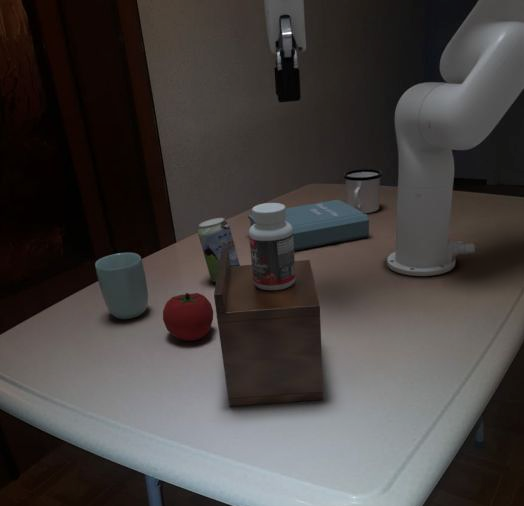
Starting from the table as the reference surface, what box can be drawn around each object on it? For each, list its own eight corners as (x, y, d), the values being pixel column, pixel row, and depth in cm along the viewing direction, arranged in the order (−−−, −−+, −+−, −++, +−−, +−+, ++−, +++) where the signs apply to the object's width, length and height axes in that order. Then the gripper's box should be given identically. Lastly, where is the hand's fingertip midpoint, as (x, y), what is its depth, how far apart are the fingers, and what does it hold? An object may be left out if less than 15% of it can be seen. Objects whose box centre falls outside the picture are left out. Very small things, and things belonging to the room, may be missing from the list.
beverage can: (238, 287, 105) (230, 224, 99) (200, 287, 106) (191, 225, 100) (245, 274, 110) (239, 214, 104) (210, 274, 111) (201, 215, 106)
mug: (348, 204, 147) (348, 169, 143) (384, 204, 144) (385, 168, 139) (337, 217, 138) (336, 180, 133) (375, 218, 134) (375, 180, 130)
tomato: (214, 320, 93) (208, 280, 89) (218, 343, 86) (212, 300, 82) (166, 328, 92) (158, 287, 89) (166, 351, 85) (158, 308, 82)
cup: (113, 328, 94) (100, 272, 89) (103, 312, 100) (89, 259, 95) (157, 315, 96) (147, 261, 92) (144, 300, 103) (134, 249, 98)
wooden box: (313, 342, 84) (308, 243, 76) (323, 399, 70) (319, 286, 63) (233, 348, 84) (221, 250, 76) (229, 406, 71) (213, 294, 63)
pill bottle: (245, 286, 71) (236, 210, 66) (271, 272, 74) (265, 199, 69) (278, 295, 67) (272, 215, 63) (304, 280, 71) (300, 203, 66)
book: (338, 220, 136) (338, 199, 133) (368, 238, 122) (369, 215, 120) (250, 236, 131) (247, 215, 128) (271, 256, 117) (269, 233, 115)
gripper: (313, -53, 67) (318, 101, 75) (303, -37, 82) (308, 90, 90) (251, -47, 67) (263, 106, 76) (252, -32, 82) (262, 95, 91)
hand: (287, 97), depth 83 cm, fingers open, 9 cm apart
